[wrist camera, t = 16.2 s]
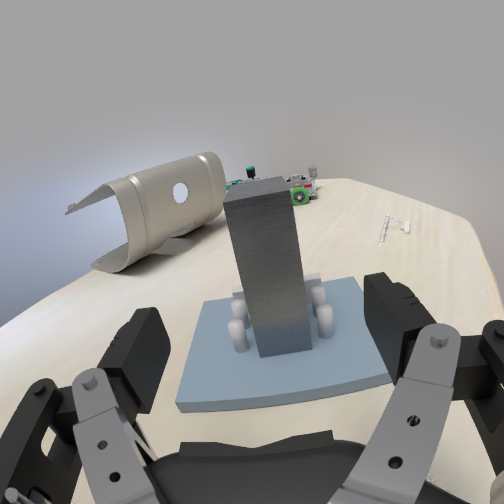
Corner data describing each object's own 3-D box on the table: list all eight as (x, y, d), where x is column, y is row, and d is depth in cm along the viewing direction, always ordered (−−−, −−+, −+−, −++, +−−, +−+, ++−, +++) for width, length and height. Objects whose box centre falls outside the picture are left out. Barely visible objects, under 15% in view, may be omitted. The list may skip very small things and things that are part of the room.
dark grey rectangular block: (259, 358, 22) (222, 202, 18) (259, 314, 28) (230, 185, 23) (312, 349, 22) (290, 189, 17) (302, 307, 27) (281, 176, 23)
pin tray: (180, 412, 19) (161, 378, 18) (206, 310, 32) (197, 281, 31) (402, 379, 18) (408, 340, 17) (353, 286, 31) (352, 254, 30)
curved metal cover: (140, 283, 43) (107, 183, 37) (81, 267, 57) (58, 198, 51) (238, 223, 62) (222, 148, 56) (166, 223, 75) (150, 165, 69)
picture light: (386, 217, 50) (386, 205, 49) (409, 217, 47) (409, 205, 47) (377, 249, 39) (377, 234, 38) (408, 250, 36) (408, 235, 36)
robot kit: (231, 200, 86) (224, 168, 83) (318, 187, 81) (313, 154, 77) (213, 219, 70) (204, 180, 66) (322, 204, 64) (316, 162, 61)
